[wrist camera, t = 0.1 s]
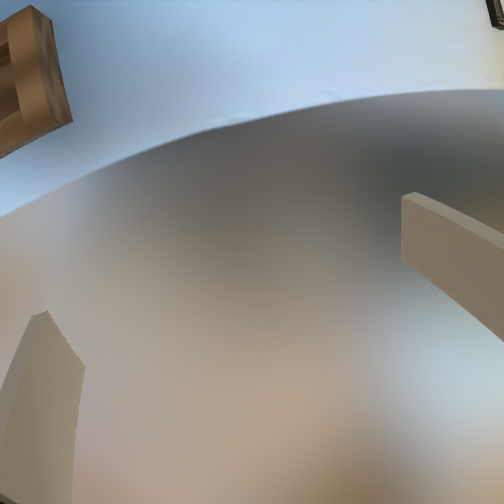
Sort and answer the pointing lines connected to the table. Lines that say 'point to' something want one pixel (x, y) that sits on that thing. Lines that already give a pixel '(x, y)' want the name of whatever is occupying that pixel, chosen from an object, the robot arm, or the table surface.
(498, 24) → the multiport hub
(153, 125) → the table surface
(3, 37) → the socket block
